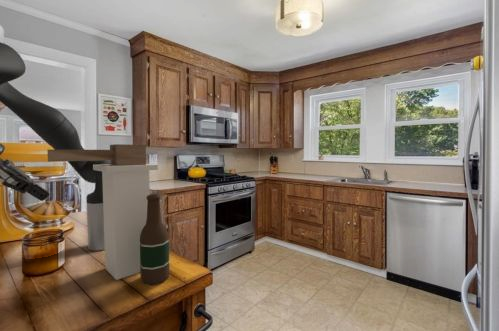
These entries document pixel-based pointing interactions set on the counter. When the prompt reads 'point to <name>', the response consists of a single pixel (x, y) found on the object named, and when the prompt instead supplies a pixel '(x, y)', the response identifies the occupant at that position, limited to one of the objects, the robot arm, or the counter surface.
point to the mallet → (104, 155)
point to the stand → (124, 215)
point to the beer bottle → (154, 245)
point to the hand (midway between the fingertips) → (45, 196)
